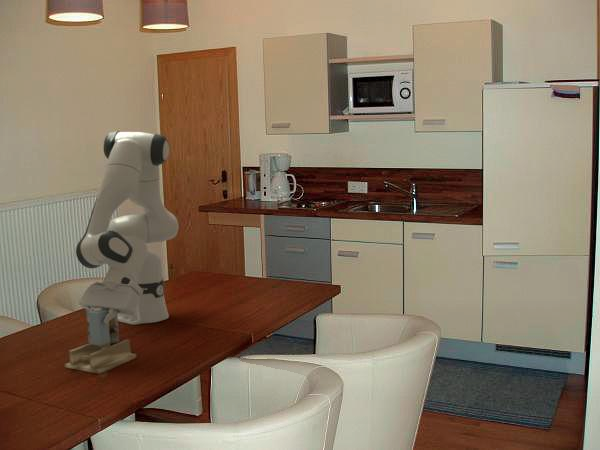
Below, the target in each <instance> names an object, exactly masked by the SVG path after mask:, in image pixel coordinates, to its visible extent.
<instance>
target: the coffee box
mask: <svg viewBox="0 0 600 450" xmlns="http://www.w3.org/2000/svg"><path fill="white" fill-rule="evenodd" d="M85 310H86V323H87V325H86V326H87V340H88V341H87V342H88V343H91V338H90V326H89V321H88V318H89V314H88V312H90V310H87V309H85ZM109 313H110V312H108V314H109ZM109 333H110V345H111V344H116V343H119V342H120V333H119V321H118V314H116V316H115V317H114V318H112V319H111V320H110V321H109Z"/></svg>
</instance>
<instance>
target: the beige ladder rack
mask: <svg viewBox="0 0 600 450" xmlns="http://www.w3.org/2000/svg"><path fill="white" fill-rule="evenodd" d="M68 353H69V362H67V363H65V364H64V368H68V369H72V370H78V371H83V372H88V373H94V374H102V373H104V372H107V371H109V370H112V369H114V368H116V367H118V366H121V365H123V364H125V363H127V362H130V361H131V360H134V359H136V358H137V354H136V353H132V351H131V340H130V339H128V338H126V339H124V340H121V341H119V342H117V343H113V344H112V345H111V344H110V342H109V343H106V344H104V345H101V346H100V345H93V344H91V343H89V342H88V343H86V344H84V345H81V346H78V347H76V348H74V349H70V350H68Z"/></svg>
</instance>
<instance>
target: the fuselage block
mask: <svg viewBox="0 0 600 450" xmlns="http://www.w3.org/2000/svg"><path fill="white" fill-rule="evenodd" d="M88 314H89V326H90V338H91V344H93V345H100V346H101V345H104V344H106V343H109V342H110V333H109V323H108V325H106V324H103V323H102V322H101V320H102V318H103V317H106V316H107V315H108V310H103V309H102V308H100V307H99V308H94V310H93V311H90V312H88Z"/></svg>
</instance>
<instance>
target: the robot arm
mask: <svg viewBox="0 0 600 450" xmlns="http://www.w3.org/2000/svg"><path fill="white" fill-rule="evenodd" d="M103 154H104V156H105V158H107V161H106V162H107V163H106V167H105V171H104V175H103V178H102V182H101V185H100V188H99V190H98V194H97V197H96V199H95V202H94V205H93V208H92V212H91V213H90V214H91V215H90V218H89V221H88V223H87V227H86V230H85V233H84V235H83V236H82V237H81V239H80V240H79V242H78V243H77V244H76V248H75V255H76V258H77V260H78V261H79V263H80V264H81V265H82V266H84V267H85V268H87V269H97V268H99V267H101V266H103V265H107V266H108V267H109V268H108V271H107V272H106V274H105V277H104V278H103V279H102V282H99V281H96V282H94V283H92V284H89V286H88V287H87V288H86V290H85V291H84V293H82V295H81V297H80V298H79V301H78V304H79V306H80V307H82V308H83V310H86V309H87V310H90V311H93V310H94V308H99V307H100V308H102V309H103V310H108V312H110V313H109V314H108V315H107V316H106V317H103V318H102V320H101V322H102V323H103V324H106V325H108V323H109V321H110V320H111V319H112V318H114V317H115V316H116V314H118V322H120V323H125V324H127V325H131V326H132V325H133V326H134V325H135V326H136V325H142V324H151V323H158V322H161V321H165V320H167V319H169V317H170V314H169V313H168V312H169V311H168V308H167V305H166V301H165V300H166V299H165V294H164V293H165V282H164V279H163V269H162V260H161V258H160V257H159V256H158V255H156V254H154V253H152V252H150V251H148V250H149V249H148V245H147V244H153V243H154V244H155V243H161V242H165V241H169V240H172V239H175V238H176V236H177V234H178V233H179V232H178V231H179V228H180V227H179V222H178V219H177V217H176V216H175V215H174V214H173V213H172V212H170V211H169V210H168V209H167V208H166V206H164V204H163V202H162V198H161V191H160V190H161V189H160V187H161V186H160V166H161V165H163V164H164V163H165V162H166V161H167V159H168V156H169V154H170V146H169V140H168V139H167V137H166V136H164V135H162V134H158V133H155V134H154V133H151V132H150V133H149V132H144V131H143V132H142V131H119V130H117V131H110V132H109V133H107V135H106V136H105V137H104V141H103ZM128 199H129V201H130V202H131V203H132V204H134V205H136V206H138V207H141V208H143V213H137V214H136V213H135V214H127V215H126V214H125V215H122V216H121V215H120V216H119V217H116V218H112V216H113V215H114V213H115V211H116V210H117V209H118V208H119V207H120V206H121V205H122V204H123V203H125V202H126V201H127V200H128ZM88 321H89V318H88Z"/></svg>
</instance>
